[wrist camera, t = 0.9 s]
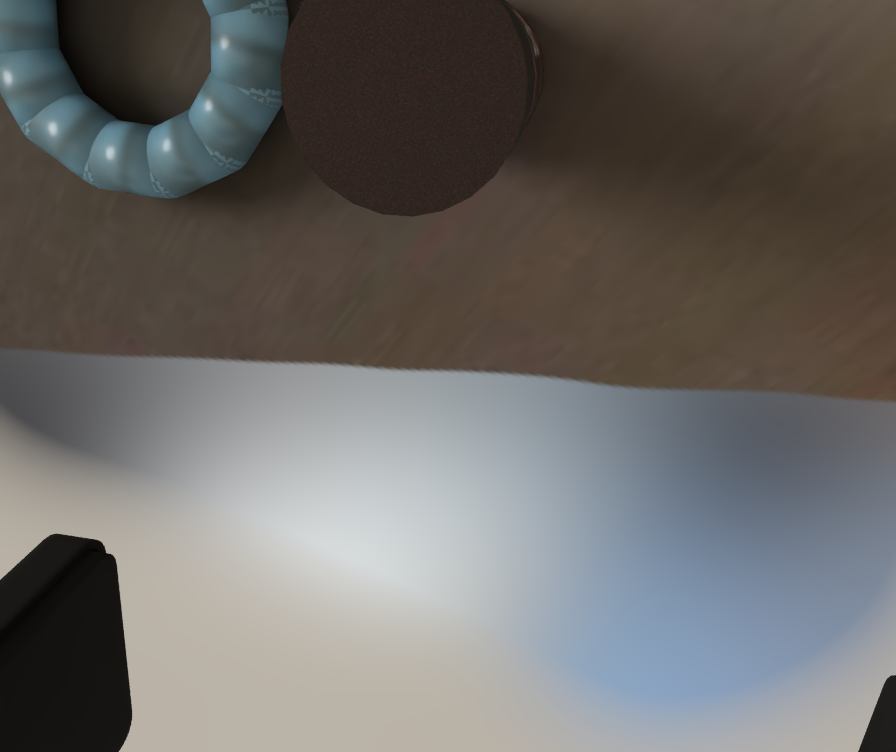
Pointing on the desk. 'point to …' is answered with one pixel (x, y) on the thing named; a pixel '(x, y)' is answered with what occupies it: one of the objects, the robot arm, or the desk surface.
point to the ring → (142, 145)
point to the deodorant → (408, 96)
